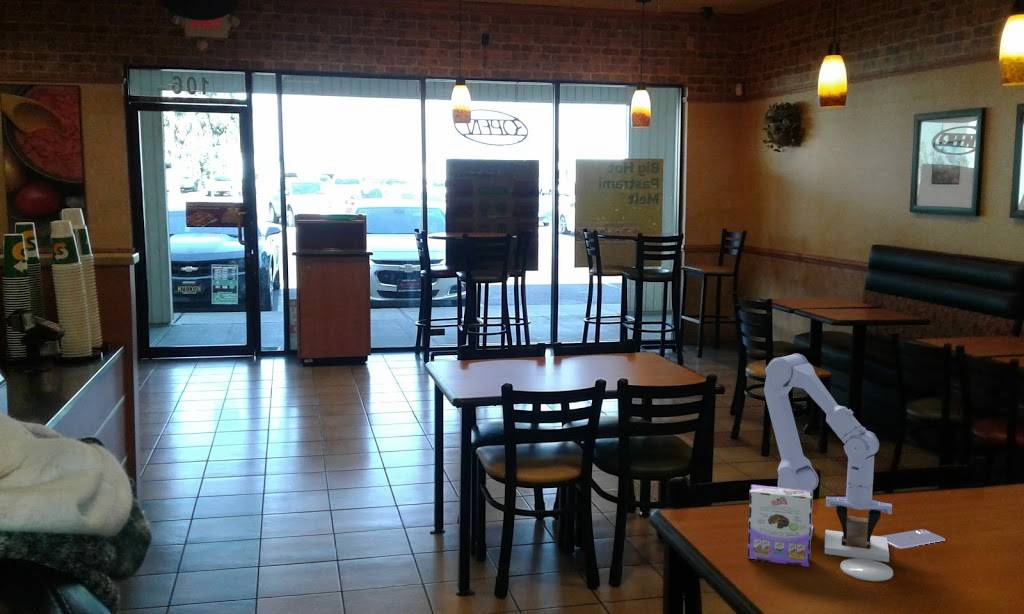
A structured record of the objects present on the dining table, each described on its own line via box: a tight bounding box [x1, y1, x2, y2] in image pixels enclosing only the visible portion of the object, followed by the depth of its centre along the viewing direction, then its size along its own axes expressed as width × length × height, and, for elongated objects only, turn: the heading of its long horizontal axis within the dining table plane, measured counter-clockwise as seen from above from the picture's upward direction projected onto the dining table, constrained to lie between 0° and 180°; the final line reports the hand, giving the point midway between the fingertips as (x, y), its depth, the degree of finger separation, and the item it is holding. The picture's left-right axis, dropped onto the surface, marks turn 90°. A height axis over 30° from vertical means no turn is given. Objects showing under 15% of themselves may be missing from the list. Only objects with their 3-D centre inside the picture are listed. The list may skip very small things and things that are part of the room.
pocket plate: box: [824, 529, 890, 563], centre depth 216 cm, size 14×12×2 cm
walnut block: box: [845, 515, 868, 549], centre depth 216 cm, size 4×4×7 cm
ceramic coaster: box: [839, 558, 894, 582], centre depth 203 cm, size 11×11×1 cm
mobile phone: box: [880, 528, 946, 550], centre depth 222 cm, size 8×1×15 cm
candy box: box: [746, 484, 813, 568], centre depth 209 cm, size 14×6×16 cm, turn 71°
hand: (856, 538), depth 216 cm, fingers closed on walnut block, 4 cm apart
